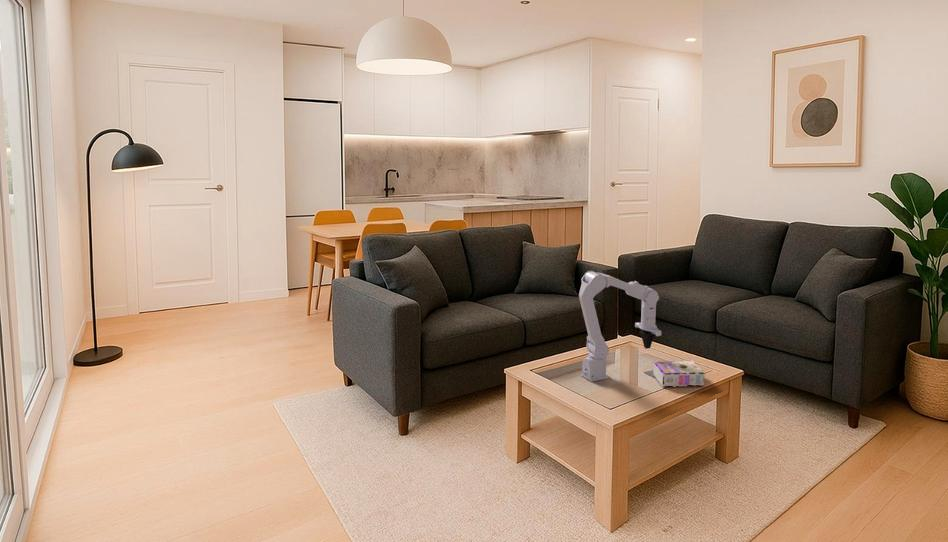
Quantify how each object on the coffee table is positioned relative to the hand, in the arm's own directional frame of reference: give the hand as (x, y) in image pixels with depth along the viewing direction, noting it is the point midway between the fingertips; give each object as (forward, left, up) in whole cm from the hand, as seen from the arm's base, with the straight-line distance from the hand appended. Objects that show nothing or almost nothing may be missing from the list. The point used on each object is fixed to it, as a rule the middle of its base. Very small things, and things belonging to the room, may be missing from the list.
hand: (647, 347), depth 252 cm
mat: (+6, -10, -10) cm, 16 cm away
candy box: (-3, -11, -7) cm, 13 cm away
